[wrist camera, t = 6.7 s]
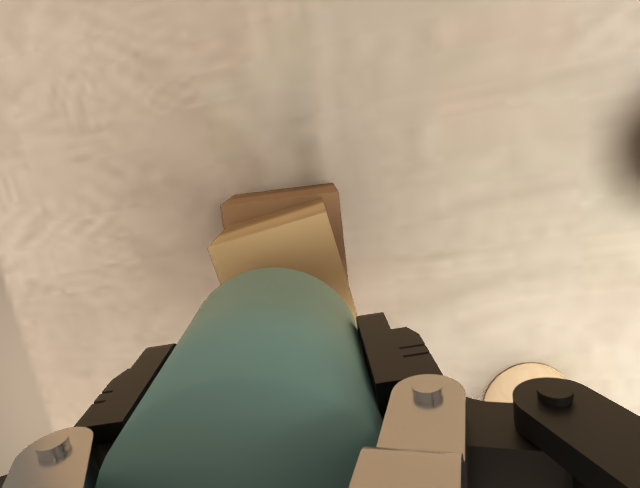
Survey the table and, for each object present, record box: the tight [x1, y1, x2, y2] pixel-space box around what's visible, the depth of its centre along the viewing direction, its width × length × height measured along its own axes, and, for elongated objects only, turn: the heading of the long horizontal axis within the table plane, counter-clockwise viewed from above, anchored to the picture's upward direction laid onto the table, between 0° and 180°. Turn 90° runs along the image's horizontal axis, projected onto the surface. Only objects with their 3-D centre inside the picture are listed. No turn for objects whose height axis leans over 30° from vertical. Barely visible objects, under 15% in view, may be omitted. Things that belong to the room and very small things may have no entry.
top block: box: [207, 197, 357, 325], centre depth 21 cm, size 5×5×5 cm
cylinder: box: [95, 267, 383, 488], centre depth 10 cm, size 5×5×6 cm
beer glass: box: [484, 363, 565, 403], centre depth 24 cm, size 7×7×15 cm
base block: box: [220, 183, 349, 285], centre depth 26 cm, size 6×6×5 cm
